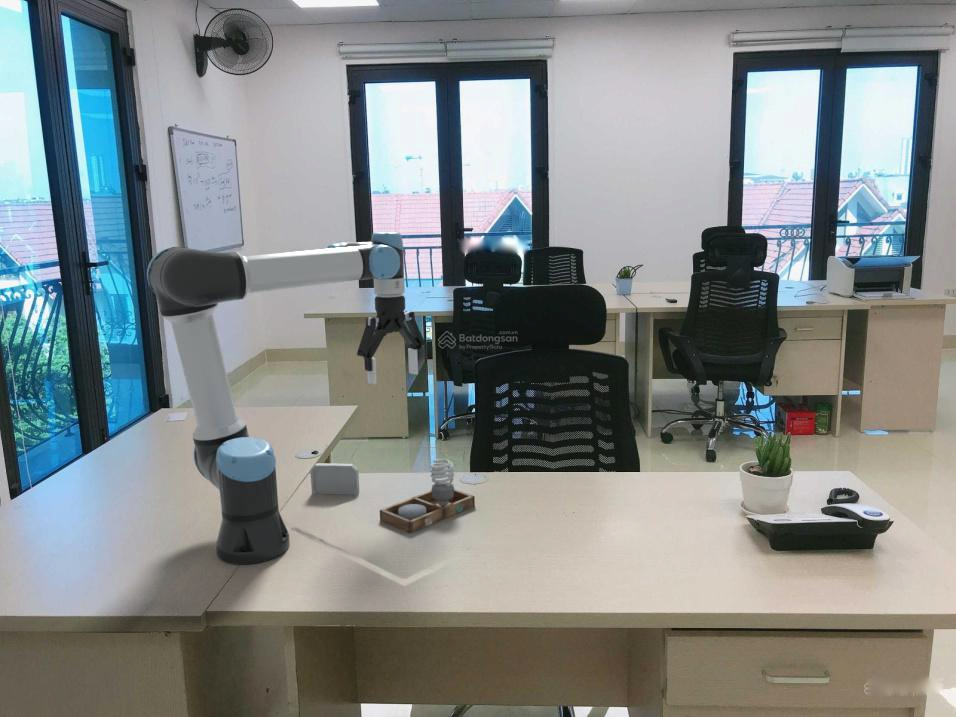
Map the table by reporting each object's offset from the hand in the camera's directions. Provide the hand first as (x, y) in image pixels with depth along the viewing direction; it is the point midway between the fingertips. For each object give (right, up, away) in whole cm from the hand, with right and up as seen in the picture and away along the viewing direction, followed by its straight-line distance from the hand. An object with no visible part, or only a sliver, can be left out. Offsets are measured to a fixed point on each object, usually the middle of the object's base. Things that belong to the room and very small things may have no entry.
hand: (393, 378), depth 196 cm
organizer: (+10, -32, -14) cm, 37 cm away
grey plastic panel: (-15, -30, +2) cm, 33 cm away
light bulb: (+13, -31, -11) cm, 35 cm away
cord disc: (+6, -32, -18) cm, 37 cm away
